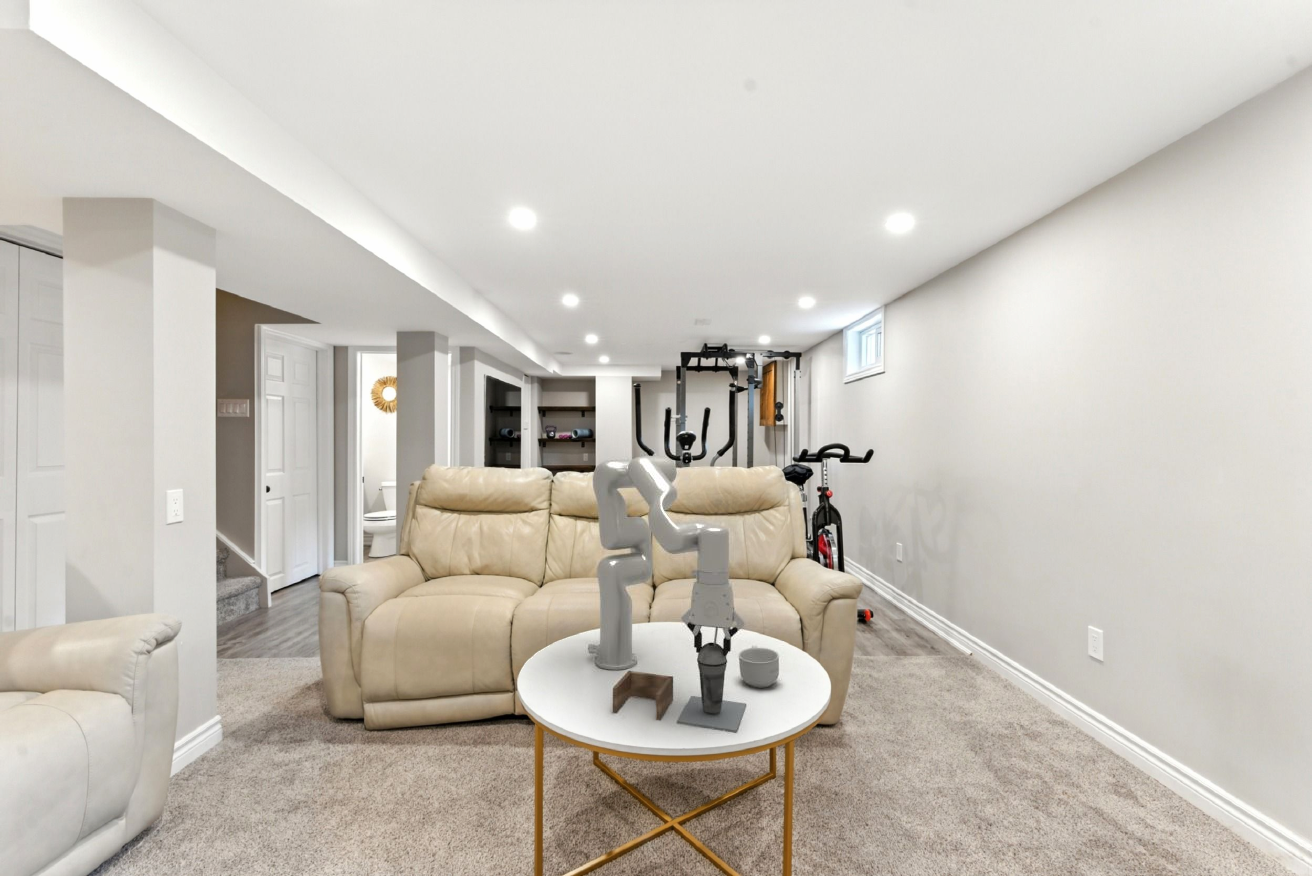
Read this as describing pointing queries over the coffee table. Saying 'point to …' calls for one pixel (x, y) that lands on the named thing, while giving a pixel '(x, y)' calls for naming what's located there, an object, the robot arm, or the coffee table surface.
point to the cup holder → (644, 690)
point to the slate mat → (712, 715)
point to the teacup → (759, 666)
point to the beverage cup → (712, 675)
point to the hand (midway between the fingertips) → (712, 651)
